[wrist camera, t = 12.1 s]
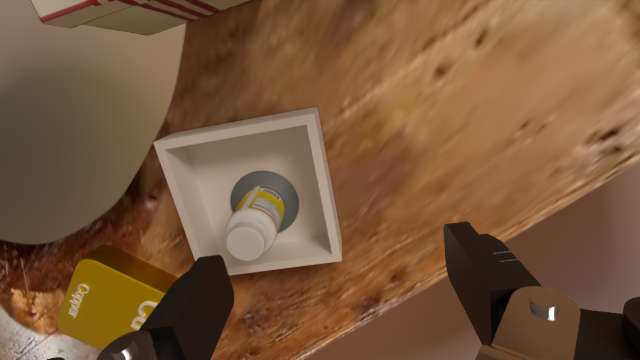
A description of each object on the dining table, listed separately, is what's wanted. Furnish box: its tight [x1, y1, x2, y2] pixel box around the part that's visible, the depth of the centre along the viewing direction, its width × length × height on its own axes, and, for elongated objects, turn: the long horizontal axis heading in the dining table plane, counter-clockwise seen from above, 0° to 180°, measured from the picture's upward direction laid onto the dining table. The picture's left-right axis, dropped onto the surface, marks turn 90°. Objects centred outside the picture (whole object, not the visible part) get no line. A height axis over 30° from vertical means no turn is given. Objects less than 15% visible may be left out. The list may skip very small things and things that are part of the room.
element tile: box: [57, 245, 178, 350], centre depth 49 cm, size 15×15×5 cm
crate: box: [153, 107, 342, 275], centre depth 41 cm, size 18×18×6 cm
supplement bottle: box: [226, 185, 285, 261], centre depth 39 cm, size 6×6×10 cm
